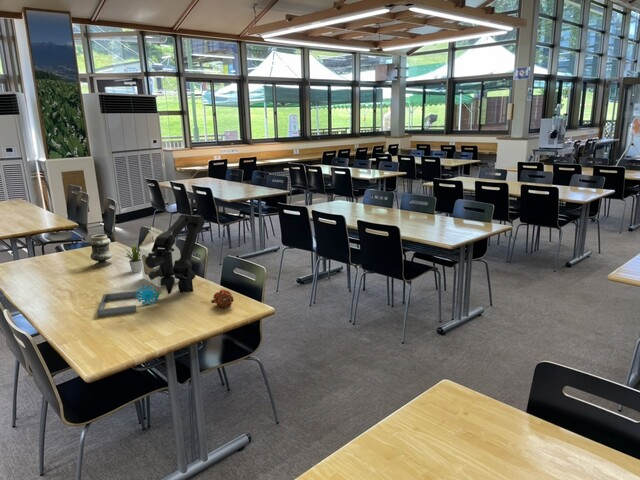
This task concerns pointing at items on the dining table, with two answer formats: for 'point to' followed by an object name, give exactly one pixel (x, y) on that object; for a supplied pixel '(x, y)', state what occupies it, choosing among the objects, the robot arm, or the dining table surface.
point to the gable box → (147, 248)
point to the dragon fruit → (222, 298)
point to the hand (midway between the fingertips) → (169, 293)
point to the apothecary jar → (100, 250)
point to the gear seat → (116, 310)
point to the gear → (147, 295)
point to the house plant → (134, 259)
